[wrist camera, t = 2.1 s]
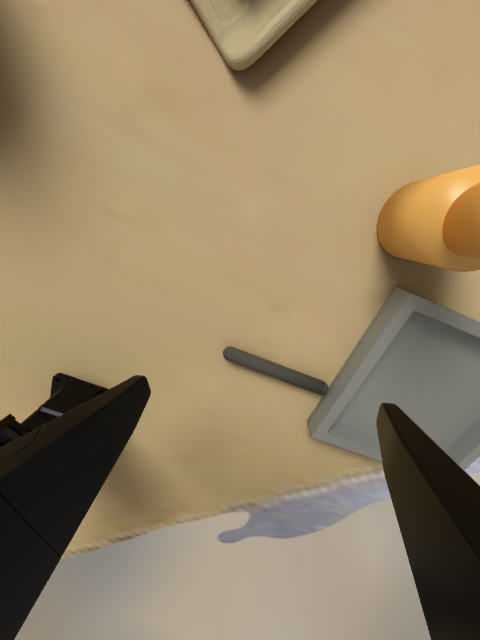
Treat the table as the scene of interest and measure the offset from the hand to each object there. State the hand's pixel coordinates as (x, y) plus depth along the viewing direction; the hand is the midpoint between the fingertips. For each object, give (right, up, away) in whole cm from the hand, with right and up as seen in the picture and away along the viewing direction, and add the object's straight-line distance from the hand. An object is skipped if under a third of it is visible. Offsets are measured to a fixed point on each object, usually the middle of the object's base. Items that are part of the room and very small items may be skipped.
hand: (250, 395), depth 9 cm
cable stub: (+3, -1, +13) cm, 14 cm away
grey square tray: (+16, -4, +13) cm, 21 cm away
